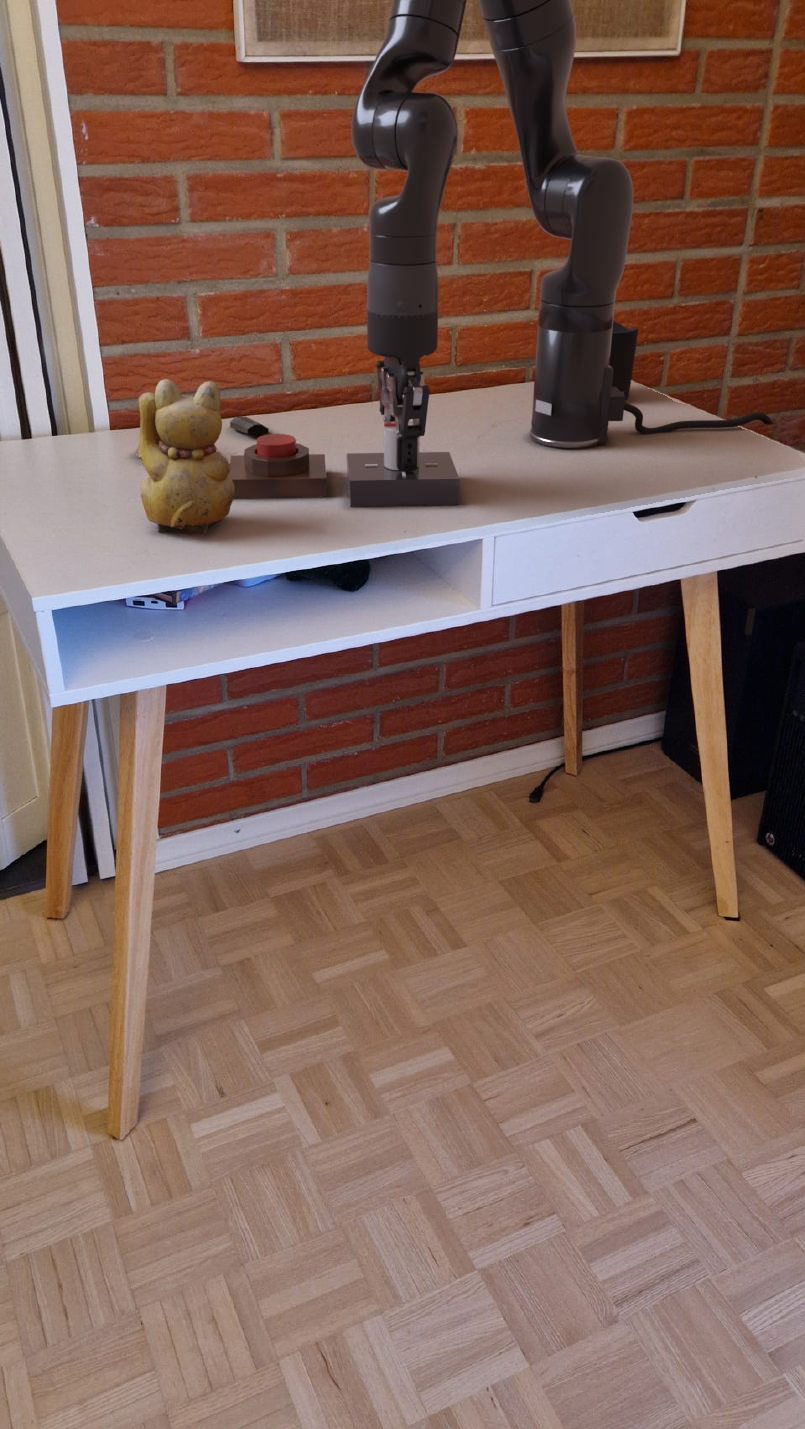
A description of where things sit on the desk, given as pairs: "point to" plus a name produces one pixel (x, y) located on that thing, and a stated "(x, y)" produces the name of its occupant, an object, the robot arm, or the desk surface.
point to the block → (248, 426)
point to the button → (276, 445)
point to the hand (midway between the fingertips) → (401, 463)
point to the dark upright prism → (622, 356)
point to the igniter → (278, 475)
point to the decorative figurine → (183, 459)
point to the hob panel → (402, 481)
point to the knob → (393, 445)
